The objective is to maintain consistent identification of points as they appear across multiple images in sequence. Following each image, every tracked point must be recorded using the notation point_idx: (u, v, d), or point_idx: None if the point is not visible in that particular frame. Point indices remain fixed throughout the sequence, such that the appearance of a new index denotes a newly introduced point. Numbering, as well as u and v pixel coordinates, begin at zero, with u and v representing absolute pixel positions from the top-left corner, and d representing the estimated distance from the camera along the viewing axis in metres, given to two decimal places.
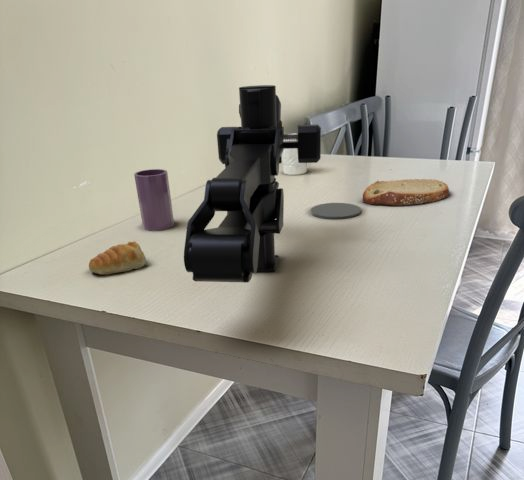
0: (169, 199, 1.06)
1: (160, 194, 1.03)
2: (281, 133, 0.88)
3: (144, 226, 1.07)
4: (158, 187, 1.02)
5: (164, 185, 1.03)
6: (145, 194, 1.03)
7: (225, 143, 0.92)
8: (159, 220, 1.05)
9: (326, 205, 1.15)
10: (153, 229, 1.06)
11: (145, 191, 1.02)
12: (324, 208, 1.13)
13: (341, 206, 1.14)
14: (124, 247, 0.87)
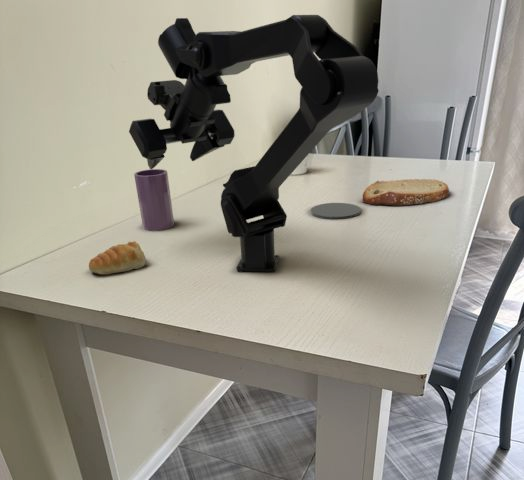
0: (169, 199, 1.06)
1: (160, 194, 1.03)
2: None
3: (144, 226, 1.07)
4: (158, 187, 1.02)
5: (164, 185, 1.03)
6: (145, 194, 1.03)
7: (146, 128, 0.84)
8: (159, 220, 1.05)
9: (326, 205, 1.15)
10: (153, 229, 1.06)
11: (145, 191, 1.02)
12: (324, 208, 1.13)
13: (341, 206, 1.14)
14: (124, 247, 0.87)
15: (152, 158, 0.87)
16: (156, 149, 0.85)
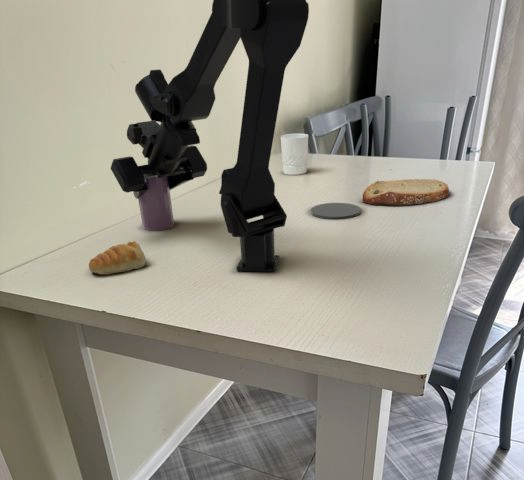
0: (169, 199, 1.06)
1: (160, 194, 1.03)
2: None
3: (144, 226, 1.07)
4: (158, 187, 1.02)
5: (164, 185, 1.03)
6: (145, 194, 1.03)
7: (125, 165, 0.94)
8: (159, 220, 1.05)
9: (326, 205, 1.15)
10: (153, 229, 1.06)
11: None
12: (324, 208, 1.13)
13: (341, 206, 1.14)
14: (124, 247, 0.87)
15: (137, 190, 0.97)
16: (135, 184, 0.95)
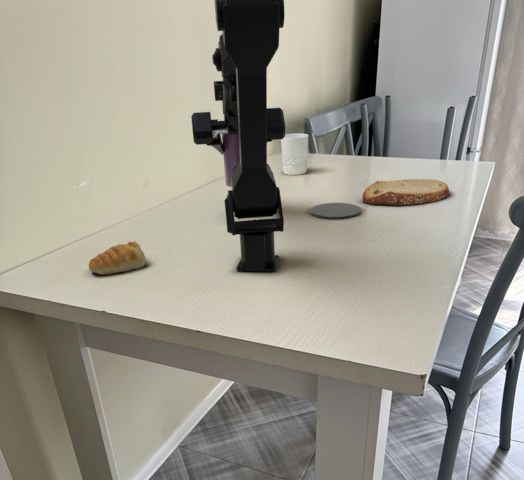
0: None
1: (238, 152, 1.08)
2: None
3: None
4: (236, 145, 1.07)
5: None
6: (225, 150, 1.09)
7: (199, 119, 1.02)
8: None
9: (326, 205, 1.15)
10: (230, 185, 1.12)
11: (225, 147, 1.08)
12: (324, 208, 1.13)
13: (341, 206, 1.14)
14: (124, 247, 0.87)
15: (208, 144, 1.04)
16: (202, 137, 1.02)
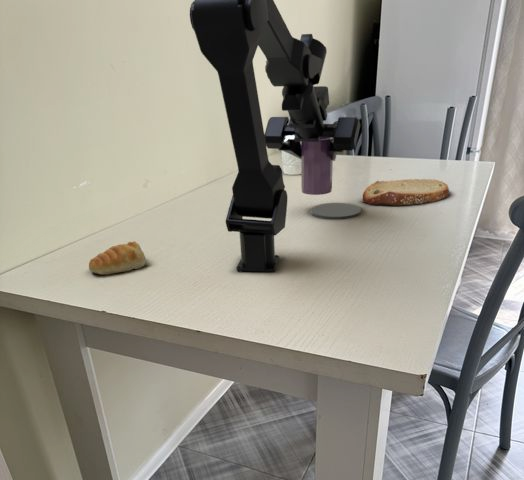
0: (322, 167, 1.06)
1: (311, 159, 1.06)
2: (323, 109, 0.98)
3: None
4: (310, 152, 1.05)
5: (317, 151, 1.05)
6: (301, 156, 1.08)
7: (273, 123, 1.03)
8: (306, 184, 1.09)
9: (326, 205, 1.15)
10: (302, 191, 1.11)
11: (301, 153, 1.07)
12: (324, 208, 1.13)
13: (341, 206, 1.14)
14: (124, 247, 0.87)
15: (279, 149, 1.05)
16: (271, 142, 1.03)
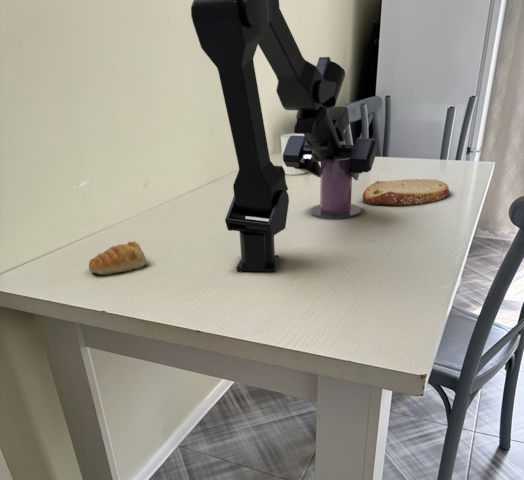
0: (340, 186, 1.06)
1: (329, 179, 1.06)
2: (340, 131, 0.98)
3: None
4: (328, 171, 1.05)
5: (335, 171, 1.05)
6: None
7: (292, 143, 1.04)
8: (324, 203, 1.09)
9: None
10: (321, 209, 1.11)
11: (321, 172, 1.08)
12: None
13: None
14: (124, 247, 0.87)
15: (294, 167, 1.06)
16: (289, 161, 1.04)
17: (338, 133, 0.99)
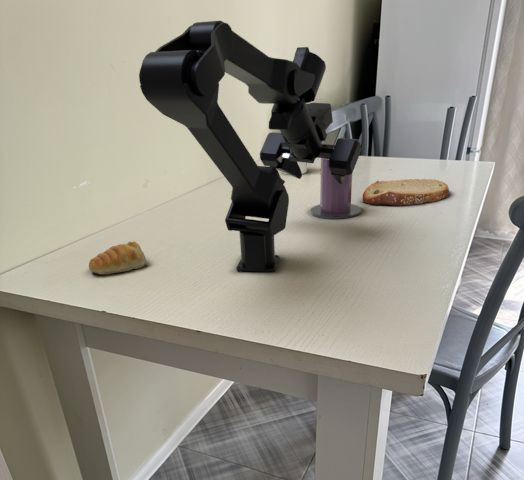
0: (340, 186, 1.06)
1: (329, 179, 1.06)
2: (321, 129, 0.90)
3: None
4: (328, 171, 1.05)
5: None
6: None
7: (270, 140, 0.96)
8: (324, 203, 1.09)
9: None
10: (321, 209, 1.11)
11: (321, 172, 1.08)
12: None
13: None
14: (124, 247, 0.87)
15: (270, 166, 0.98)
16: (266, 159, 0.96)
17: (319, 131, 0.91)
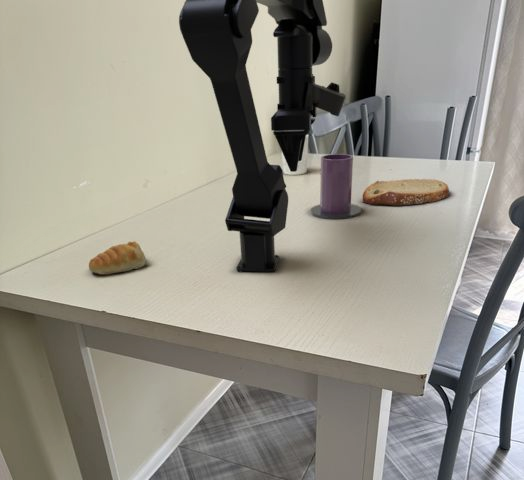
0: (340, 186, 1.06)
1: (329, 179, 1.06)
2: (308, 93, 0.84)
3: None
4: (328, 171, 1.05)
5: (335, 171, 1.05)
6: None
7: None
8: (324, 203, 1.09)
9: None
10: (321, 209, 1.11)
11: (321, 172, 1.08)
12: None
13: None
14: (124, 247, 0.87)
15: None
16: None
17: None
